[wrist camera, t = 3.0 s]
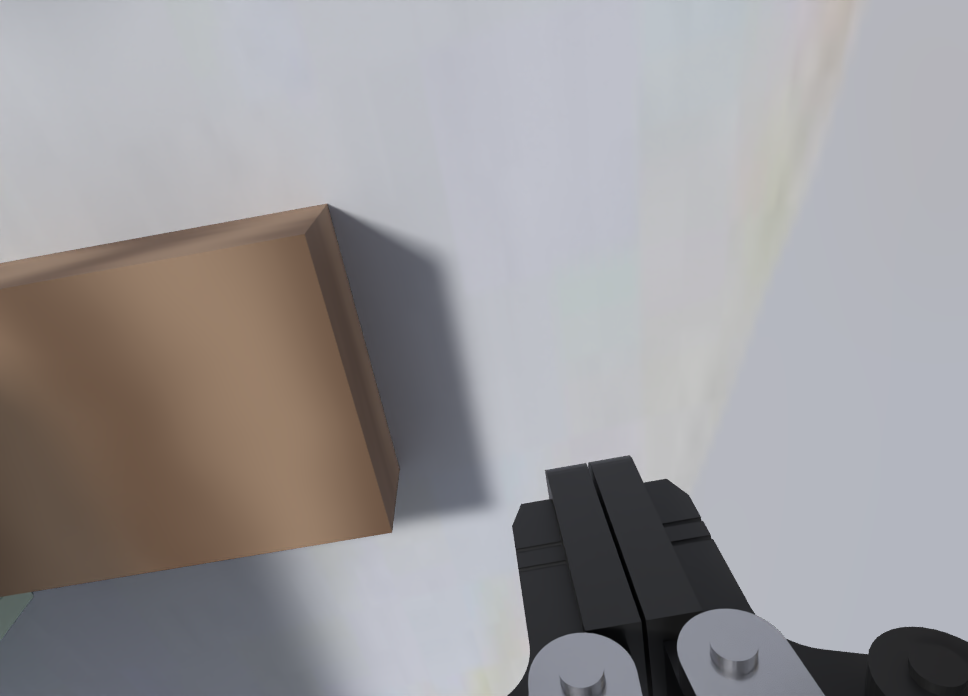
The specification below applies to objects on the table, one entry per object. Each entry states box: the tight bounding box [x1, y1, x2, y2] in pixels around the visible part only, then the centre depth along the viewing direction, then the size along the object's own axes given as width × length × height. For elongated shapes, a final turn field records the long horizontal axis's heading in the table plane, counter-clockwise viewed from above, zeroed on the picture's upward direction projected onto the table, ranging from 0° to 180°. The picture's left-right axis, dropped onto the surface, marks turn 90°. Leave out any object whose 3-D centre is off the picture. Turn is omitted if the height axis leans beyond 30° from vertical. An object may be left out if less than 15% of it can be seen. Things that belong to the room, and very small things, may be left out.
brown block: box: [0, 204, 400, 597], centre depth 19 cm, size 12×9×4 cm
